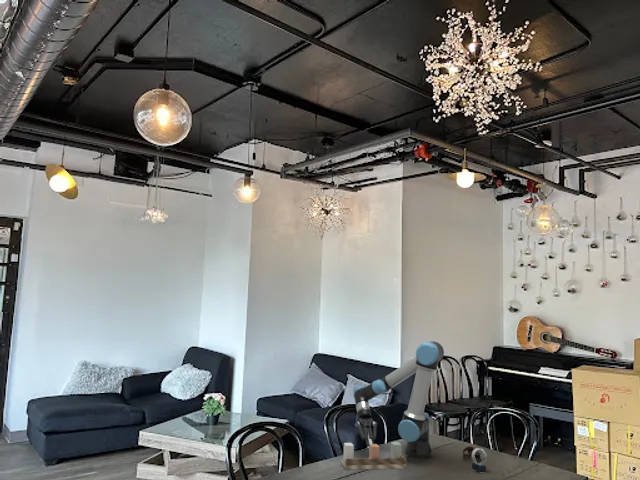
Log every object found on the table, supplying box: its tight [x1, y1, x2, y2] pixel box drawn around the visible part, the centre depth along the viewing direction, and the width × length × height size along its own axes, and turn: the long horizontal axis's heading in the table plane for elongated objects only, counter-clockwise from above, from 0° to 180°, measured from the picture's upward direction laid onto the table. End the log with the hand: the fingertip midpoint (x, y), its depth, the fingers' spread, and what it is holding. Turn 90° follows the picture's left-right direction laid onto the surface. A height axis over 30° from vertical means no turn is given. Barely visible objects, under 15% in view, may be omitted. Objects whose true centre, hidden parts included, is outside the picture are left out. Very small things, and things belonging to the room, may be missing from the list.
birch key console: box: [340, 454, 407, 471], centre depth 245 cm, size 32×10×6 cm, turn 101°
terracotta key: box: [368, 443, 381, 458], centre depth 244 cm, size 4×5×8 cm
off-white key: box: [343, 442, 355, 462], centre depth 245 cm, size 4×5×8 cm
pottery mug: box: [462, 445, 482, 461], centre depth 261 cm, size 12×10×8 cm
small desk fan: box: [471, 447, 488, 474], centre depth 243 cm, size 6×8×11 cm
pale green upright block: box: [390, 441, 402, 458], centre depth 250 cm, size 4×5×8 cm
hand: (371, 451), depth 248 cm, fingers closed
